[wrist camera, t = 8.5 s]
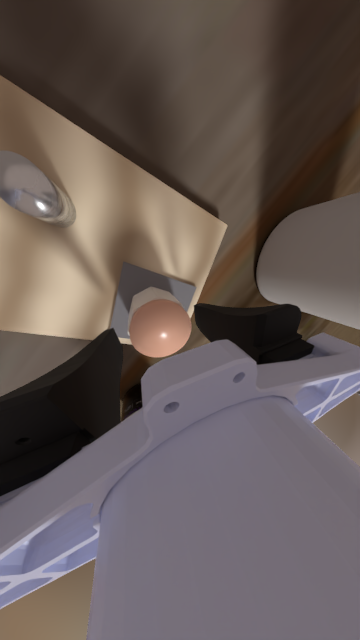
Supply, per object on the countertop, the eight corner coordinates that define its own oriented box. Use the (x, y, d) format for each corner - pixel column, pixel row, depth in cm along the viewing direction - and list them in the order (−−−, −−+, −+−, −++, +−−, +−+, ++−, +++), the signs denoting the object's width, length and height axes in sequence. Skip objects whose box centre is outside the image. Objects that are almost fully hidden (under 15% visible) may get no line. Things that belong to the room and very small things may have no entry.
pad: (109, 334, 15) (108, 336, 14) (123, 261, 12) (123, 261, 12) (173, 342, 18) (174, 344, 18) (195, 286, 16) (196, 287, 15)
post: (34, 217, 10) (-11, 199, 7) (34, 177, 9) (-17, 135, 6) (74, 233, 10) (51, 223, 7) (77, 198, 10) (53, 171, 7)
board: (-26, 317, 12) (-45, 325, 11) (-71, 46, 7) (-118, -3, 6) (175, 343, 20) (177, 349, 19) (219, 228, 15) (227, 225, 14)
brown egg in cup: (125, 326, 15) (123, 354, 10) (136, 281, 13) (138, 294, 9) (167, 332, 17) (180, 359, 12) (181, 295, 15) (200, 310, 11)
